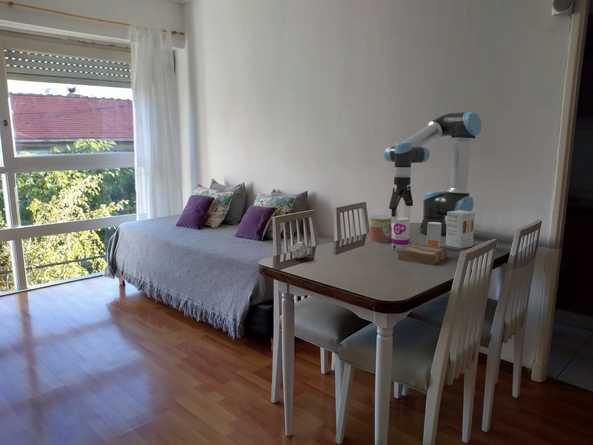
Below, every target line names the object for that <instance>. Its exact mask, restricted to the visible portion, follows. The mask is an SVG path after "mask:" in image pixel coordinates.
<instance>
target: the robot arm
mask: <svg viewBox="0 0 593 445" xmlns="http://www.w3.org/2000/svg"><path fill="white" fill-rule="evenodd" d="M481 131H482V121H481V118H480V116H479V115H478V113H476V112H473V111H472V112H471V111H465V112H455V113H454V112H451V113H446V114H445V113H444V114H443V115H440V116H439V117H437V118H435V119H433V120H431V121H430V122H428V123H427V124H426V126H425V127H424V128H422V129H421V130H419V131H417V132H416V133H414V134H413V135H410V137H408V138H406V139H404V140H403V141H402V142H401V141H400V142H396V143H395V146H388V147H386V148H385V150H384V151H383V152H384V154H383V155H384V159H385V160H386V161H387V162H389V163H394V169H393V171H394V173H393V175H394V177H393V184H394V186H396V187H392V194H391V197H390V201H389V206H388V208H389V210H391V215H390V217H391V224H392V223H394V224H397V217H399V216H398V212H399V210H398V206H399V204H400V202H401V199H402V200H403V201H404V204H405V205H404V211H403V212H404V213H403V214H404V216H403V217H406V218H409V220H411V207H413V205H414V201H413V196H412V188H411V181H412V180H411V179H412V178H411V176H412V164H421V163H426V162H427V161H428V160H430V156H431V154H430V150H429V149H428V148H427V146H426V145H427V144H428V143H430V142H432V141H433V140H437V139H440V138H442V137H450V136H451V139H450V140H451V141H452V142H453V151H452V158H451V160H452V162H451V171H450V181H449V188H448V189H447V190H446V191H445V190H439V191H438V190H437V191H428V192H425V193H424V195H423V200H422V201H423V216H422V221H421V223H420V227H419V233H420V234H423V235H426V236H427V224H428V223H429V222H438V223H442V225H441V236H444V235H445V236H446V230H447V220H446V217H447V212H450V211H458V210H462V211H469V212H473V208H474V205H475V204H474V200H473V197H472V196H471V195H470V191H469V190H468V183H469V182H468V181H469V172H470V162H471V155H472V154H471V152H472V144H473V142H474V141H475V140H476V136H478V135H480V133H481Z"/></svg>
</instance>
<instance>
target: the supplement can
mask: <svg viewBox="0 0 593 445" xmlns="http://www.w3.org/2000/svg"><path fill="white" fill-rule="evenodd" d="M410 220H411V219H410ZM410 220H409V218H406V217H404V216H401V217H400V216H397V224H394V223H391V248H392V250H393V251H397V252H398V251H400V250H402V249H404V248H407V247H409V246H411V245H410V242H411V238H410V237H411V221H410Z"/></svg>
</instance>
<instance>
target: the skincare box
mask: <svg viewBox="0 0 593 445" xmlns="http://www.w3.org/2000/svg"><path fill="white" fill-rule="evenodd" d="M441 225H442V223H438V222H429V223H428V224H427V235H426V244H425V245H426V246H433V247H440V248H441V239H442V235H441Z"/></svg>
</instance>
